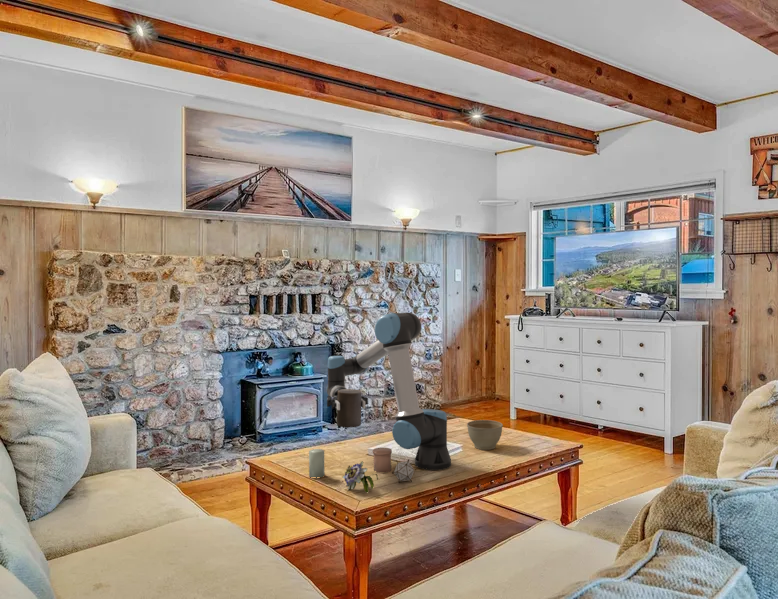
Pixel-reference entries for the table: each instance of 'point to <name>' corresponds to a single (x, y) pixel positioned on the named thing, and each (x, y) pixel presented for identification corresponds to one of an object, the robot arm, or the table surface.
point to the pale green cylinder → (316, 463)
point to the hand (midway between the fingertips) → (351, 405)
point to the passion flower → (358, 477)
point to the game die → (404, 471)
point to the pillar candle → (349, 408)
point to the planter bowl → (484, 433)
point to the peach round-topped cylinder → (382, 459)
